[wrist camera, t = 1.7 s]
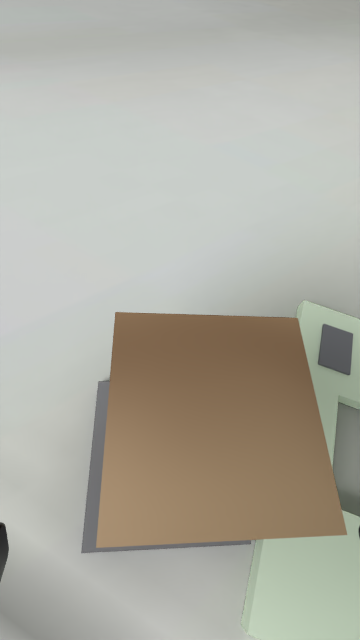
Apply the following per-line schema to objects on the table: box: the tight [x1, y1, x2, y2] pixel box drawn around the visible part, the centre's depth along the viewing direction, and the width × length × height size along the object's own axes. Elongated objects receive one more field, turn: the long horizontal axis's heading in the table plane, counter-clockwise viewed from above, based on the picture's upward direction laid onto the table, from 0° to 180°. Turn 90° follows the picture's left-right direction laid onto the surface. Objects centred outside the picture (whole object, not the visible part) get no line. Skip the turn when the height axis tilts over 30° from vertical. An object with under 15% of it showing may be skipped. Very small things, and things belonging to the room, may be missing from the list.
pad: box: [81, 381, 251, 553], centre depth 17 cm, size 8×8×1 cm
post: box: [96, 312, 347, 548], centre depth 11 cm, size 4×4×12 cm
